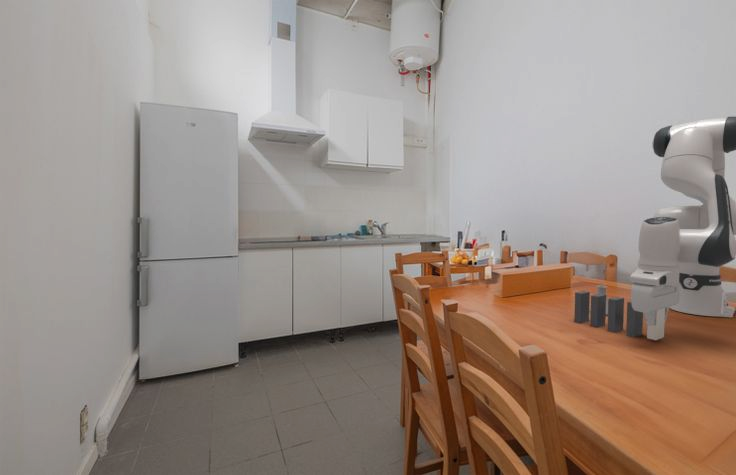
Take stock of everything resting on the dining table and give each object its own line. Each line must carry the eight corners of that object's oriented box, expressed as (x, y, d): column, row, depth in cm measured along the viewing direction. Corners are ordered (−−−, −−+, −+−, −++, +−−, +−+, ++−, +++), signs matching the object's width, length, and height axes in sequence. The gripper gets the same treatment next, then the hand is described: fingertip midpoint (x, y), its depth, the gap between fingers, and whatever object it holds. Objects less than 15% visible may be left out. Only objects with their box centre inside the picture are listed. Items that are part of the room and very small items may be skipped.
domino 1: (574, 321, 111) (575, 292, 110) (582, 319, 113) (583, 290, 113) (580, 323, 109) (581, 293, 108) (588, 321, 111) (589, 291, 111)
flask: (617, 316, 116) (618, 288, 116) (594, 315, 118) (595, 288, 117) (606, 311, 123) (607, 284, 123) (585, 310, 125) (586, 284, 124)
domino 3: (607, 330, 102) (608, 298, 101) (615, 327, 104) (616, 296, 104) (614, 332, 100) (615, 300, 100) (623, 329, 103) (624, 298, 102)
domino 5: (646, 338, 93) (648, 303, 93) (655, 335, 95) (656, 301, 95) (655, 340, 91) (657, 304, 91) (663, 337, 94) (665, 302, 93)
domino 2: (590, 326, 106) (591, 295, 106) (598, 323, 109) (599, 293, 108) (596, 327, 105) (597, 296, 104) (605, 325, 107) (606, 294, 106)
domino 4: (626, 335, 98) (627, 302, 97) (634, 332, 100) (635, 300, 99) (634, 337, 96) (635, 303, 95) (642, 334, 98) (643, 301, 98)
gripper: (660, 270, 100) (658, 315, 101) (626, 276, 90) (624, 326, 91) (688, 273, 95) (686, 320, 95) (655, 280, 85) (653, 332, 86)
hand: (655, 323), depth 93 cm, fingers closed on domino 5, 5 cm apart
